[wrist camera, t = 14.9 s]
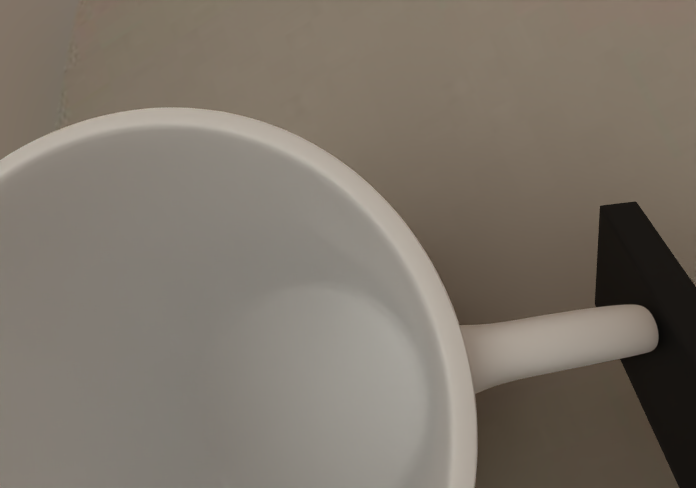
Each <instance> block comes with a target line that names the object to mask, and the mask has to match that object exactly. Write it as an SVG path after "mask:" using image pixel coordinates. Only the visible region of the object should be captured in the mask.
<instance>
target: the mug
mask: <svg viewBox="0 0 696 488" xmlns="http://www.w3.org/2000/svg"><path fill="white" fill-rule="evenodd" d="M658 339H659V335H658V329H657V325H656V322H655V320H654V318H653V316H652V314H651V313H650V312H649V310H648V309H646V308H645V307H643V306H640V305H613V306H604V307H595V308H588V309H580V310H574V311H567V312H560V313H554V314H548V315H542V316H536V317H530V318H524V319H518V320H512V321H505V322H499V323H491V324H480V325H459V322H458V319H457V316H456V313H455V311H454V308H453V305H452V303H451V300H450V298H449V296H448V293H447V291H446V289H445V287H444V285H443V282H442V280H441V278H440V276H439V274H438V273H437V271H436V269H435V267H434V265H433V263H432V262H431V260H430V258H429V256H428V255H427V253H426V252H425V250H424V248H423V247H422V245H421V244H420V242H419V241H418V239H417V238H416V236H415V235H414V234H413V232H412V231H411V229H410V228H409V227H408V225H407V224H406V223H405V222H404V220H403V219H402V218H401V217H400V215H399V214H398V213H397V212H396V211H395V210H394V208H393V207H392V206H391V205H390V204H389V203H388V202H387V201H386V200H385V199H384V198H383V197H382V196H381V195H380V194H379V193H378V192H377V191H376V190H375V189H374V188H373V187H372V186H371V185H370V184H369V183H368V182H367V181H365V180H364V179H363V178H362V177H361V176H360V175H358V174H357V173H356V172H355V171H354V170H352V169H351V168H350V167H348V166H347V165H346V164H344V163H343V162H342V161H340V160H339V159H337V158H336V157H334V156H333V155H331V154H330V153H328V152H327V151H325V150H323V149H322V148H320V147H318V146H317V145H315V144H313V143H311V142H309V141H307V140H305V139H304V138H302V137H300V136H297V135H295V134H293V133H291V132H289V131H286V130H284V129H282V128H279V127H276V126H274V125H271V124H268V123H265V122H262V121H259V120H256V119H252V118H249V117H245V116H241V115H237V114H232V113H227V112H222V111H215V110H208V109H198V108H179V107H167V108H148V109H138V110H130V111H124V112H118V113H113V114H108V115H104V116H99V117H96V118H92V119H88V120H85V121H82V122H78V123H75V124H73V125H70V126H67V127H64V128H62V129H59V130H57V131H54V132H52V133H49V134H47V135H45V136H43V137H41V138H39V139H36V140H35V141H32V142H30V143H29V144H27V145H25V146H23V147H21V148H19V149H17V150H16V151H14V152H12V153H11V154H9V155H7V156H6V157H4V158H3V159H1V160H0V488H475V483H476V472H477V456H478V425H477V409H476V398H475V394H477V393H479V392H481V391H483V390H486V389H489V388H491V387H494V386H497V385H500V384H504V383H507V382H511V381H515V380H519V379H524V378H529V377H533V376H538V375H543V374H548V373H553V372H558V371H563V370H568V369H573V368H578V367H583V366H588V365H593V364H598V363H603V362H607V361H612V360H617V359H622V358H626V357H631V356H635V355H640V354H644V353H648V352H651V351H653V350H654V349H655V348H656V346H657V344H658Z"/></svg>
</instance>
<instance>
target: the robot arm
mask: <svg viewBox="0 0 696 488" xmlns="http://www.w3.org/2000/svg"><path fill="white" fill-rule="evenodd" d="M595 305H596V307H604V306H613V305H640V306H643V307H645V308H646V309H648V310H649V312H650V313H651V314H652V316H653V318H654V320H655V322H656V325H657V329H658V335H659V339H658V344H657V346H656V348H655V349H654V350H653V351H651V352H648V353H644V354H640V355H635V356H631V357H626V358H622V359H620V360H621V362H622V364H623V366H624V368H625V371H626V373H627V375H628V377H629V379H630V381H631V384H632V386H633V388H634V390H635V392H636V395H637V397H638V399H639V401H640V403H641V405H642V408H643V410H644V412H645V414H646V416H647V418H648V421H649V423H650V425H651V427H652V429H653V431H654V434H655V436H656V438H657V440H658V442H659V445H660V447H661V449H662V451H663V453H664V455H665V458H666V460H667V462H668V464H669V466H670V468H671V471H672V473H673V475H674V477H675V479H676V481H677V484H678V486H679V488H696V287H695V285H694V284H693V282H692V281H691V280H690V278H689V277H688V275H687V274H686V272H685V271H684V270H683V268H682V267H681V265H680V264H679V262H678V261H677V259H676V258H675V257H674V255H673V254H672V252H671V251H670V249H669V248H668V247H667V245H666V244H665V242H664V241H663V239H662V238H661V237H660V235H659V234H658V232H657V231H656V229H655V228H654V227H653V225H652V224H651V222H650V221H649V219H648V218H647V216H646V215H645V214H644V212H643V211H642V209H641V208H640V206H639V205H638V204H637V202H628V203H620V204H611V205H603V206H600V217H599V236H598V255H597V273H596V292H595Z"/></svg>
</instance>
